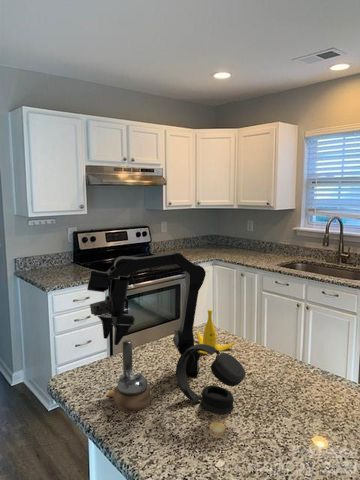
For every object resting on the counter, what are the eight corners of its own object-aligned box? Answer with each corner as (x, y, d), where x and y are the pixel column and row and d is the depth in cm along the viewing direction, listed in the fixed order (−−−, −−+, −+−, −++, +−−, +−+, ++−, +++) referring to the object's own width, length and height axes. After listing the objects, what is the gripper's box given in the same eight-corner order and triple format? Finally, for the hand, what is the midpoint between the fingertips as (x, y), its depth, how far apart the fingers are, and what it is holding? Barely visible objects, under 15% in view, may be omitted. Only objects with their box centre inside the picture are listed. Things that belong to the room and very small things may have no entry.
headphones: (252, 362, 107) (195, 330, 115) (242, 374, 99) (182, 339, 108) (234, 412, 111) (180, 377, 120) (223, 426, 104) (167, 389, 113)
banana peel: (236, 349, 151) (237, 310, 149) (196, 358, 143) (196, 317, 141) (216, 336, 166) (216, 300, 164) (178, 343, 158) (178, 306, 156)
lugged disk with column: (150, 403, 109) (149, 355, 108) (120, 408, 107) (119, 359, 105) (140, 381, 123) (139, 338, 121) (113, 385, 120) (112, 342, 118)
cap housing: (154, 394, 117) (154, 382, 116) (144, 413, 106) (144, 400, 105) (111, 389, 120) (111, 377, 119) (97, 408, 109) (97, 395, 108)
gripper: (85, 288, 125) (77, 334, 123) (105, 295, 109) (97, 348, 108) (115, 291, 131) (108, 335, 129) (138, 298, 115) (131, 348, 114)
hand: (110, 341), depth 120 cm, fingers open, 9 cm apart
